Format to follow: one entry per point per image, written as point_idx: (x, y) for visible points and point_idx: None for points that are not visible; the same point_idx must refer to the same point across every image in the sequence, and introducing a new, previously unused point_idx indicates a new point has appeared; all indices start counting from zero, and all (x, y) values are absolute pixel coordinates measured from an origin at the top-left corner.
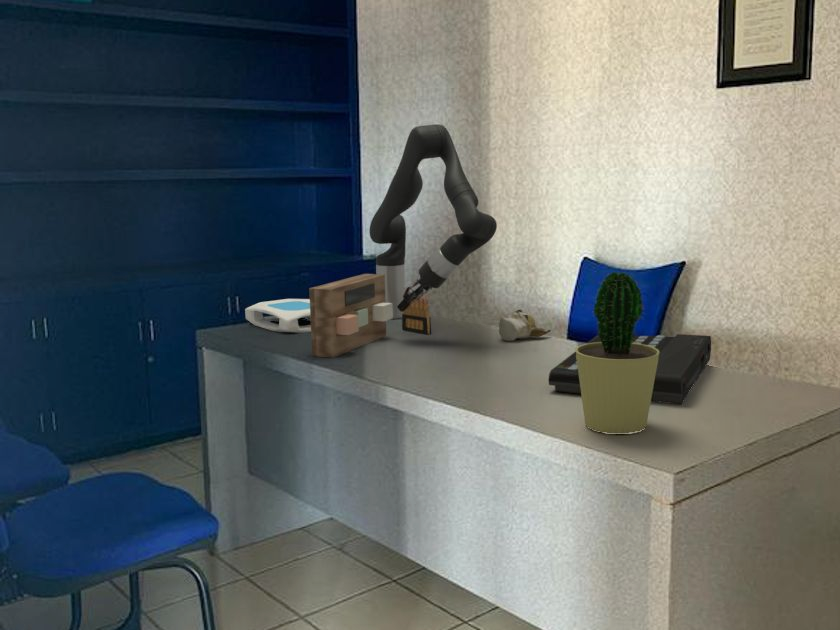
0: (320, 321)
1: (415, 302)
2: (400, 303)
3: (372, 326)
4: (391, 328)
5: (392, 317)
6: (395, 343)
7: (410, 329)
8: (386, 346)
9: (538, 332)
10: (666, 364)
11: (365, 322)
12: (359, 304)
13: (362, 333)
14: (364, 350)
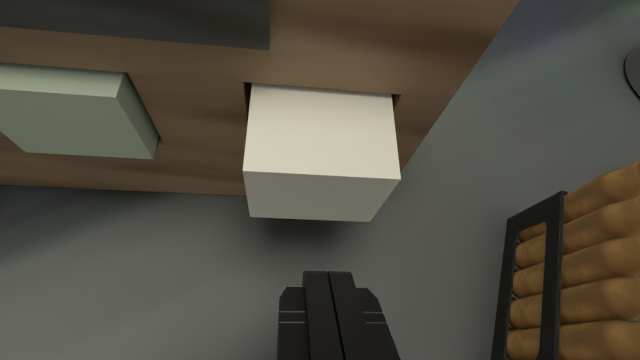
0: None
1: None
2: (306, 302)
3: None
4: (514, 162)
5: (365, 219)
6: (232, 322)
7: (509, 267)
8: (150, 310)
9: None
10: None
11: (113, 149)
12: (4, 36)
13: (133, 165)
14: (38, 245)
